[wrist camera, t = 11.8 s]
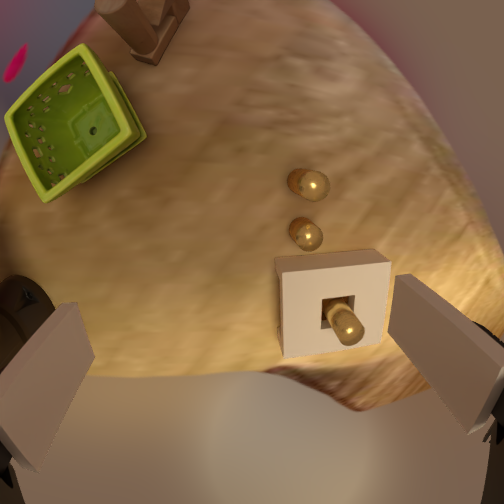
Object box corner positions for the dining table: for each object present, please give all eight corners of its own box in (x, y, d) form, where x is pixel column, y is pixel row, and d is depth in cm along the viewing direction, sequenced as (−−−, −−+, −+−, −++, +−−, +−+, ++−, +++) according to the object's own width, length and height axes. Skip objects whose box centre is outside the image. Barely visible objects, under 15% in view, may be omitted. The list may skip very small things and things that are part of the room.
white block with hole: (277, 337, 50) (283, 358, 44) (275, 257, 46) (282, 272, 40) (366, 324, 51) (380, 343, 45) (373, 248, 47) (391, 261, 41)
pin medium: (287, 194, 43) (300, 202, 35) (286, 168, 42) (300, 171, 34) (312, 193, 43) (330, 201, 36) (311, 168, 42) (330, 171, 35)
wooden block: (191, 7, 33) (174, -62, 16) (157, 66, 36) (116, 17, 19) (169, 1, 33) (142, -66, 15) (135, 60, 35) (85, 12, 18)
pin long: (314, 305, 49) (337, 348, 38) (315, 285, 48) (340, 324, 36) (335, 303, 49) (363, 343, 38) (336, 283, 48) (366, 320, 37)
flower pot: (119, 64, 35) (84, 37, 23) (162, 140, 39) (136, 135, 27) (48, 120, 36) (-2, 115, 24) (86, 193, 41) (41, 209, 28)
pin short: (289, 242, 45) (296, 252, 41) (288, 218, 44) (296, 225, 39) (313, 240, 46) (322, 250, 41) (312, 216, 44) (322, 223, 40)
